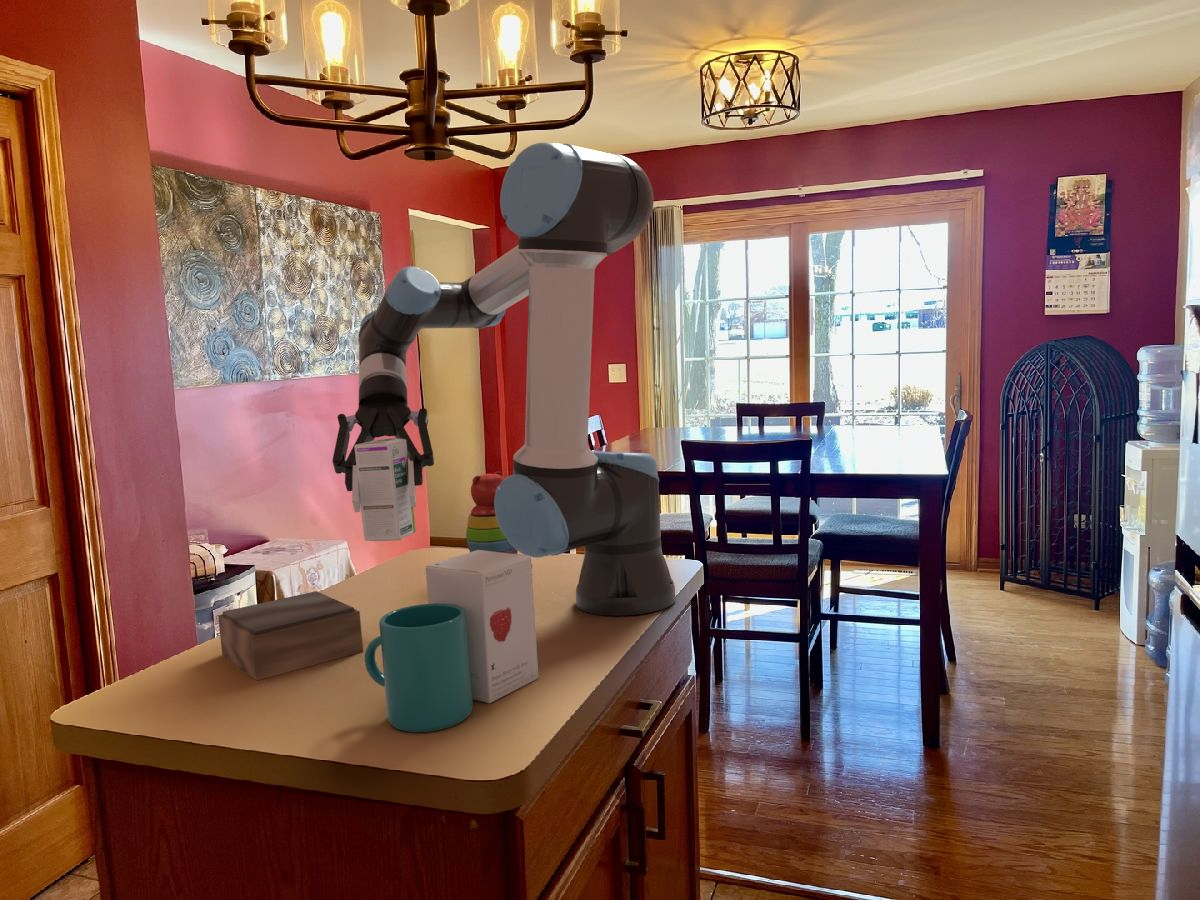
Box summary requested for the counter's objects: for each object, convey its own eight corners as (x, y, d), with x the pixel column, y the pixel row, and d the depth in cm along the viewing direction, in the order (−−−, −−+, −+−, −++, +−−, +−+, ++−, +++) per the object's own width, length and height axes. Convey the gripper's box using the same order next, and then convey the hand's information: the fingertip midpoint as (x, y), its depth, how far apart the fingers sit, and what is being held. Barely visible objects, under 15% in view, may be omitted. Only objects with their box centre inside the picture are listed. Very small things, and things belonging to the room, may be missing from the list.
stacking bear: (486, 582, 150) (479, 479, 148) (455, 573, 157) (448, 475, 156) (537, 569, 157) (530, 471, 155) (505, 561, 164) (498, 467, 163)
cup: (393, 695, 101) (384, 600, 99) (487, 703, 97) (480, 604, 96) (346, 728, 92) (337, 625, 91) (448, 738, 88) (439, 630, 87)
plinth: (363, 651, 117) (359, 607, 116) (256, 680, 108) (251, 633, 107) (322, 629, 128) (318, 589, 127) (222, 654, 119) (217, 611, 118)
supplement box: (490, 705, 96) (480, 572, 94) (432, 691, 101) (421, 564, 100) (541, 678, 103) (533, 554, 102) (485, 666, 108) (476, 548, 107)
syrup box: (400, 541, 126) (391, 441, 125) (362, 541, 127) (353, 443, 126) (416, 533, 132) (408, 437, 130) (380, 533, 133) (371, 439, 132)
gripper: (448, 400, 144) (456, 512, 130) (322, 409, 141) (316, 525, 127) (445, 368, 139) (453, 481, 124) (313, 376, 135) (307, 494, 121)
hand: (384, 503), depth 126 cm, fingers closed on syrup box, 7 cm apart
